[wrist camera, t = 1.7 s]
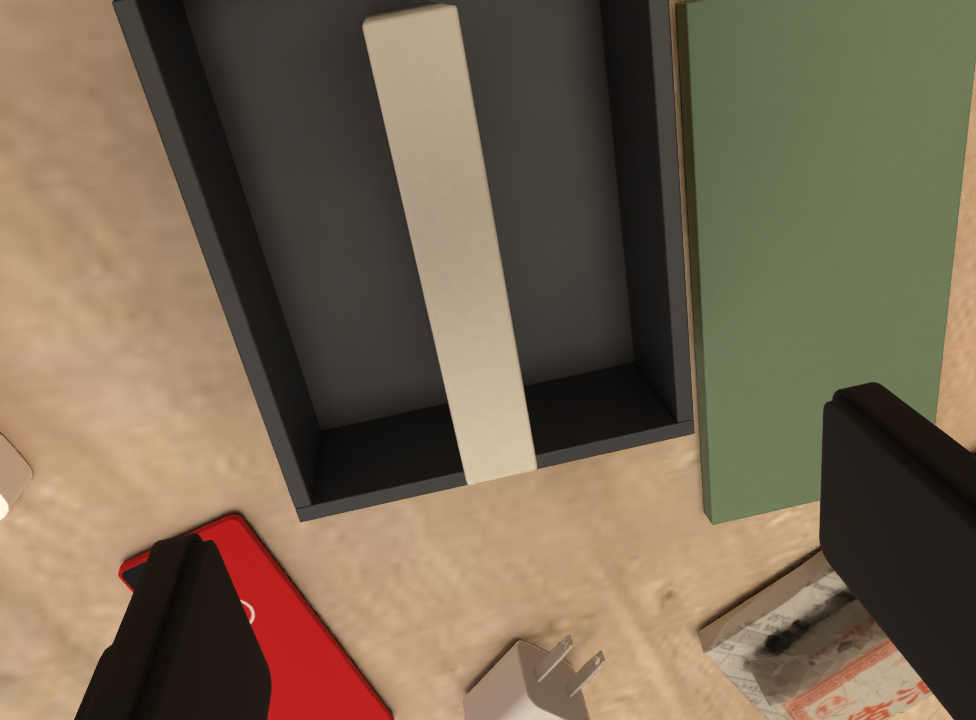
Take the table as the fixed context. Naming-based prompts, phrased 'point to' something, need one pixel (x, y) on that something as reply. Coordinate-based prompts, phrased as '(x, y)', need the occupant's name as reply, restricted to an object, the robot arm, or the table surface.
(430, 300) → the board
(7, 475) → the joystick
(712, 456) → the mat
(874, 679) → the packaged product
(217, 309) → the table surface
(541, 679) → the usb wall charger
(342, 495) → the bin
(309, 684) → the electronic device
